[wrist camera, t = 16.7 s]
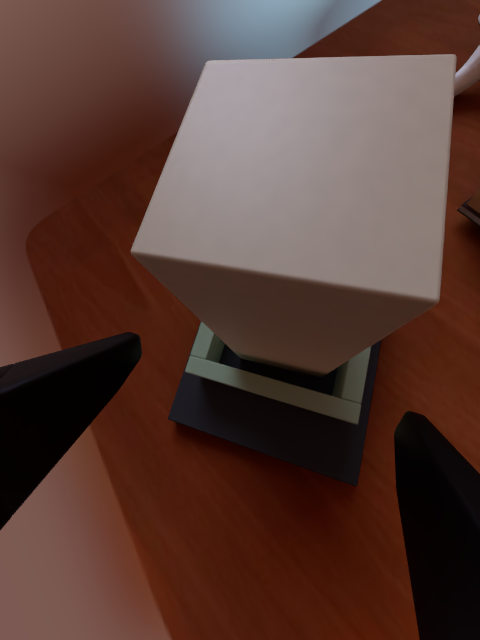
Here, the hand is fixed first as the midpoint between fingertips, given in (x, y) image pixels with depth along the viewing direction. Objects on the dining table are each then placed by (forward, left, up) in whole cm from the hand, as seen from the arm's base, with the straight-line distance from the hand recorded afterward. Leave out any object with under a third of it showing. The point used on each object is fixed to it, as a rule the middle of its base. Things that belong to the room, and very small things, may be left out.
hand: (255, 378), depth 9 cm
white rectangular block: (+3, +3, -9) cm, 10 cm away
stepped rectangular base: (+3, +3, -10) cm, 11 cm away
